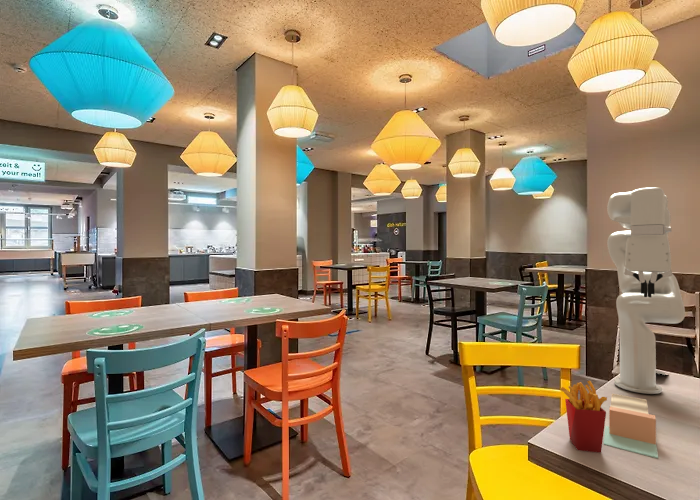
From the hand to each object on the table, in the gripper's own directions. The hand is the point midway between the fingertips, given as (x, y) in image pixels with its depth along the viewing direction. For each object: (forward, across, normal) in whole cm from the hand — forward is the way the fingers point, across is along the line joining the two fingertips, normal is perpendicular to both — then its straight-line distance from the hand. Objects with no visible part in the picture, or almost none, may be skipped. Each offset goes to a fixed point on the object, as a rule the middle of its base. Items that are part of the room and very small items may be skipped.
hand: (647, 296), depth 106 cm
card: (+30, +4, +19) cm, 35 cm away
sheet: (+33, +4, +9) cm, 35 cm away
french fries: (+33, +14, +31) cm, 47 cm away
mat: (+33, +4, +23) cm, 40 cm away
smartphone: (+32, -1, -34) cm, 46 cm away
